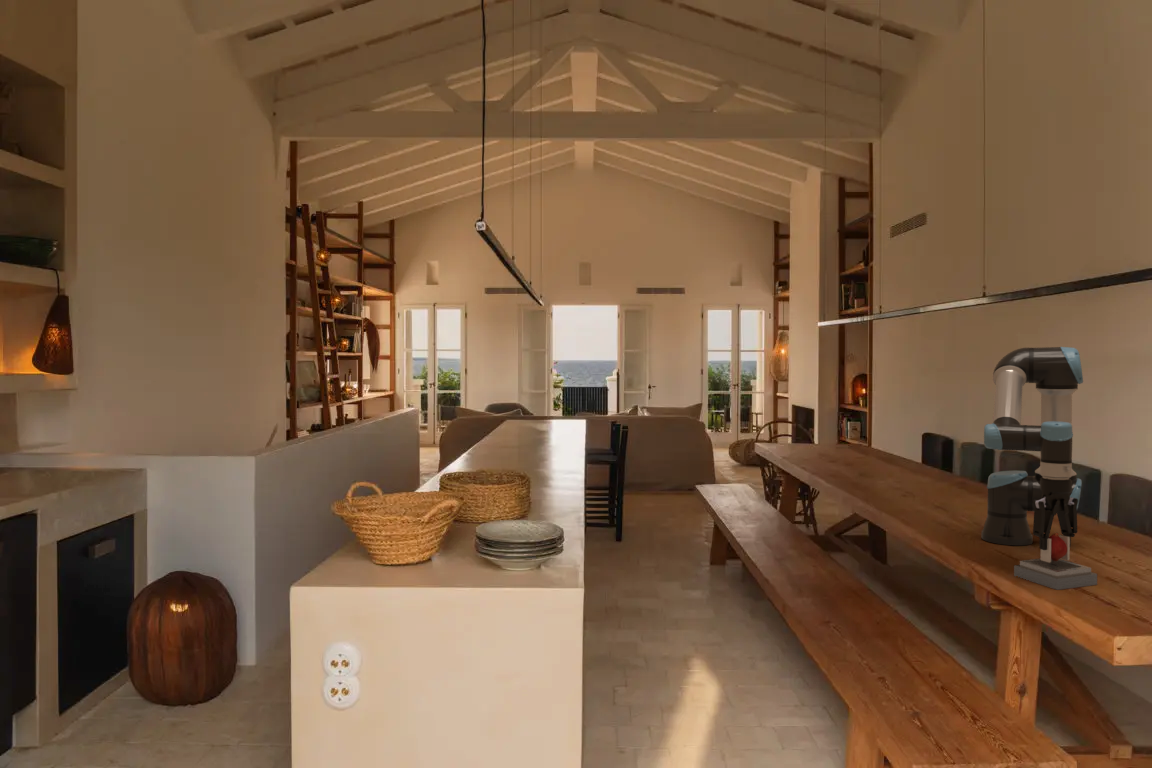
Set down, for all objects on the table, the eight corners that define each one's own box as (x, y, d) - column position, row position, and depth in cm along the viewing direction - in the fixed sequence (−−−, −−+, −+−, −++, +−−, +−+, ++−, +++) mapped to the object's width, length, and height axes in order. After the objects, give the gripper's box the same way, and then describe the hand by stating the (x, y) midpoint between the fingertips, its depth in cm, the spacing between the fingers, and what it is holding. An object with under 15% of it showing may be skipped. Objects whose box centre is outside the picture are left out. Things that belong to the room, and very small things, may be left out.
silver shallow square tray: (1014, 575, 224) (1014, 560, 224) (1052, 571, 228) (1052, 555, 228) (1057, 589, 211) (1057, 573, 211) (1097, 584, 215) (1097, 568, 215)
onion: (1044, 562, 218) (1045, 534, 217) (1040, 557, 223) (1041, 529, 223) (1069, 564, 216) (1069, 535, 215) (1064, 559, 221) (1064, 531, 221)
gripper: (1040, 481, 212) (1039, 566, 213) (1094, 477, 218) (1093, 560, 218) (1017, 477, 219) (1016, 559, 220) (1070, 473, 225) (1069, 554, 226)
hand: (1054, 560), depth 219 cm, fingers closed on onion, 6 cm apart
